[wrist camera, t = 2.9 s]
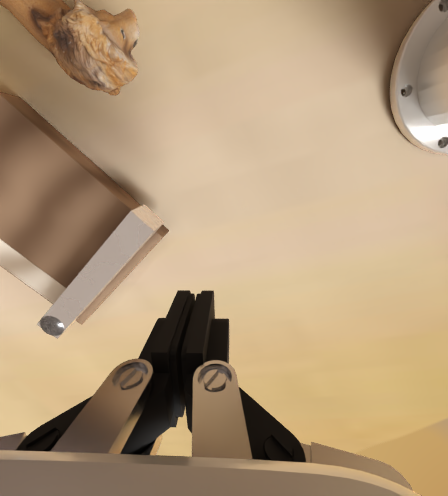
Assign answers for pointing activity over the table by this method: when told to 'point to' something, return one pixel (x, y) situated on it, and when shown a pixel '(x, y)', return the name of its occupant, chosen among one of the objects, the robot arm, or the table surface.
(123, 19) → the lion figurine
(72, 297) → the folding leg
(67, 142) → the stool seat
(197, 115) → the table surface
